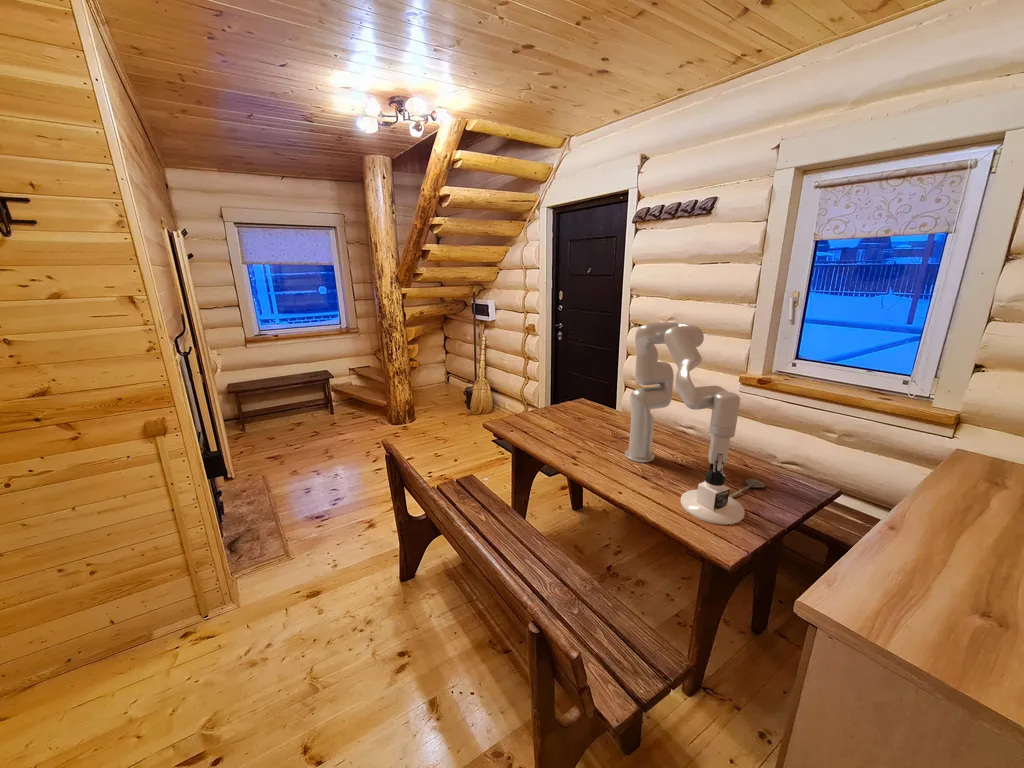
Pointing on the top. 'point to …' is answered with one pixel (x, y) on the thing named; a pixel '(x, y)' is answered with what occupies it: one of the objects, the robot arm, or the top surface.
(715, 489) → the medicine bottle
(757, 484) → the grey spatula
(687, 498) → the dish
